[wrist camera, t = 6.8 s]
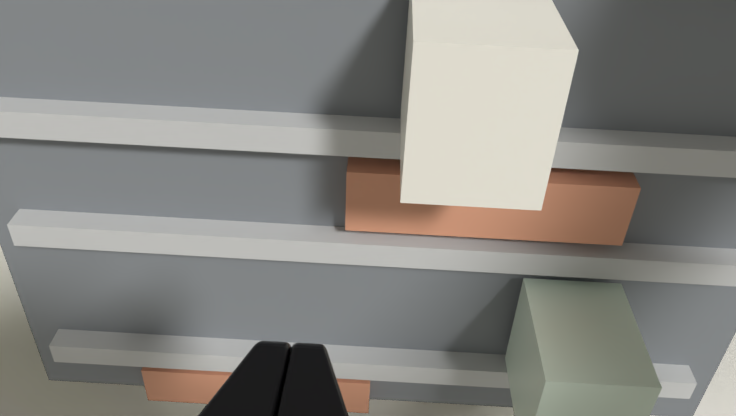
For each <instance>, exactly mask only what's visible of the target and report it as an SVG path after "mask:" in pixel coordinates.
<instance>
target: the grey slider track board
mask: <svg viewBox="0 0 736 416" xmlns="http://www.w3.org/2000/svg"><path fill="white" fill-rule="evenodd" d="M552 1H553V3H554V5H555V7H556V9H557V10H558V12H559V14H560V16H561V18H562V20H563V22H564V23H565V25H566V27H567V29H568V31H569V33H570V35H571V37H572V38H573V40H574V42H575V44H576V46H577V48H578V50H579V52H578V56H577V60H576V65H575V69H574V73H573V77H572V82H571V86H570V90H569V95H568V99H567V103H566V107H565V112H564V116H563V120H562V124H561V129H560V133H559V137H558V141H557V146H556V150H555V154H554V158H553V163H552V167H551V171H550V176H549V180H548V184H547V188H546V193H545V197H544V201H543V205H542V210H541V211H539V210H521V209H503V208H485V207H467V206H449V205H431V204H413V203H400V133H401V102H402V89H403V75H404V62H405V49H406V36H407V22H408V9H409V0H0V245H1V248H2V250H3V253H4V256H5V259H6V261H7V264H8V267H9V270H10V273H11V275H12V278H13V281H14V284H15V286H16V289H17V292H18V295H19V298H20V300H21V303H22V306H23V309H24V311H25V314H26V317H27V320H28V323H29V325H30V328H31V331H32V334H33V336H34V339H35V342H36V345H37V348H38V350H39V353H40V356H41V359H42V361H43V364H44V367H45V370H46V373H47V375H48V378H49V380H58V381H75V382H92V383H109V384H126V385H143V386H145V389H146V393H147V398H148V400H153V401H170V402H187V403H204V404H208V403H209V401H210V400H211V399H212V398H213V396H214V395H215V394H216V393H217V391H218V390H219V389H220V388H221V386H222V385H223V384H224V383H225V381H226V380H227V379H228V378H229V376H230V375H231V374H232V373H233V371H234V370H235V369H236V368H237V366H238V365H239V364H240V363H241V361H242V360H243V359H244V357H245V356H246V355H247V354H248V352H249V351H250V350H251V349H252V347H253V346H254V345H255V344H256V343H258V342H260V341H278V342H287V343H289V344H290V345H291V347H292V346H293V344H295V343H315V344H323V345H324V346H325V347H326V349H327V351H328V354H329V357H330V360H331V363H332V366H333V370H334V373H335V376H336V379H337V382H338V385H339V388H340V391H341V394H342V397H343V400H344V403H345V406H346V409H347V412H356V413H368V411H369V399H382V400H399V401H416V402H433V403H450V404H467V405H484V406H501V407H513V404H512V398H511V392H510V386H509V380H508V373H507V367H506V361H505V355H506V351H507V347H508V343H509V338H510V334H511V330H512V325H513V321H514V317H515V312H516V308H517V304H518V299H519V295H520V291H521V287H522V282H523V278H532V279H550V280H567V281H585V282H603V283H620V284H622V286H623V289H624V292H625V294H626V297H627V299H628V302H629V304H630V307H631V310H632V312H633V315H634V317H635V320H636V322H637V325H638V328H639V330H640V333H641V335H642V338H643V340H644V343H645V346H646V348H647V351H648V353H649V356H650V358H651V361H652V363H653V366H654V369H655V371H656V374H657V376H658V379H659V381H660V384H661V387H662V389H661V391H660V394H659V396H658V398H657V400H656V403H655V405H654V407H653V409H652V411H651V414H650V415H655V416H693V415H694V413H695V411H696V409H697V407H698V405H699V403H700V401H701V399H702V397H703V395H704V393H705V391H706V389H707V387H708V385H709V383H710V381H711V379H712V378H713V376H714V374H715V372H716V370H717V368H718V366H719V364H720V362H721V360H722V358H723V356H724V354H725V352H726V350H727V348H728V346H729V344H730V342H731V340H732V338H733V336H734V334H735V332H736V0H552Z"/></svg>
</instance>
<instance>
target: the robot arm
mask: <svg viewBox="0 0 736 416" xmlns="http://www.w3.org/2000/svg"><path fill="white" fill-rule="evenodd" d="M198 416H348V413H347V409H346V406H345V403H344V400H343V397H342V394H341V391H340V388H339V385H338V382H337V379H336V376H335V373H334V370H333V366H332V363H331V360H330V357H329V354H328V351H327V349H326V347H325V346H324V345H323V344H315V343H295V344H293V346H292V347H291V345H290V344H289V343H287V342H278V341H260V342H258V343H256V344H255V345H254V346H253V347H252V349H251V350H250V351H249V352H248V354H247V355H246V356H245V357H244V359H243V360H242V361H241V363H240V364H239V365H238V366H237V368H236V369H235V370H234V371H233V373H232V374H231V375H230V376H229V378H228V379H227V380H226V381H225V383H224V384H223V385H222V386H221V388H220V389H219V390H218V391H217V393H216V394H215V395H214V396H213V398H212V399H211V400H210V401H209V403H208V404H207V405H206V406H205V408H204V409H203V410H202V412H201V413H200V414H199V415H198Z"/></svg>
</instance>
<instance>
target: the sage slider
mask: <svg viewBox="0 0 736 416" xmlns="http://www.w3.org/2000/svg"><path fill="white" fill-rule="evenodd" d="M505 361H506V367H507V373H508V380H509V386H510V392H511V398H512V404H513V411H514V416H650V414H651V411H652V409H653V407H654V405H655V403H656V400H657V398H658V396H659V394H660V391H661V389H662V387H661V384H660V381H659V379H658V376H657V374H656V371H655V369H654V366H653V363H652V361H651V358H650V356H649V353H648V351H647V348H646V346H645V343H644V340H643V338H642V335H641V333H640V330H639V328H638V325H637V322H636V320H635V317H634V315H633V312H632V310H631V307H630V304H629V302H628V299H627V297H626V294H625V292H624V289H623V286H622V284H620V283H603V282H585V281H567V280H550V279H532V278H523V282H522V287H521V291H520V295H519V299H518V304H517V308H516V312H515V317H514V321H513V325H512V330H511V334H510V338H509V343H508V347H507V351H506V355H505Z"/></svg>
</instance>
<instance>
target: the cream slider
mask: <svg viewBox="0 0 736 416" xmlns="http://www.w3.org/2000/svg"><path fill="white" fill-rule="evenodd" d="M578 52H579V50H578V48H577V46H576V44H575V42H574V40H573V38H572V37H571V35H570V33H569V31H568V29H567V27H566V25H565V23H564V22H563V20H562V18H561V16H560V14H559V12H558V10H557V9H556V7H555V5H554V3H553V1H552V0H409V9H408V22H407V36H406V49H405V62H404V75H403V89H402V102H401V133H400V203H413V204H431V205H449V206H467V207H485V208H503V209H521V210H539V211H541V210H542V205H543V201H544V197H545V193H546V188H547V184H548V180H549V176H550V171H551V167H552V163H553V158H554V154H555V150H556V146H557V141H558V137H559V133H560V129H561V124H562V120H563V116H564V112H565V107H566V103H567V99H568V95H569V90H570V86H571V82H572V77H573V73H574V69H575V65H576V60H577V56H578Z"/></svg>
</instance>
